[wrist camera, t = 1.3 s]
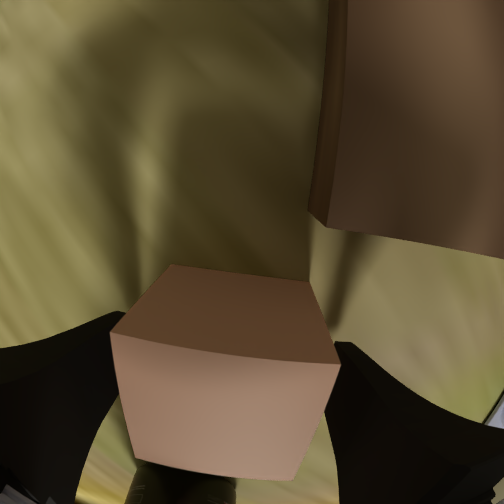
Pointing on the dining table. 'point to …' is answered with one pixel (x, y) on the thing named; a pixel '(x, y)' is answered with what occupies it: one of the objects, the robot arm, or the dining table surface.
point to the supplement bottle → (178, 487)
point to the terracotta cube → (224, 372)
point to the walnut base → (413, 123)
